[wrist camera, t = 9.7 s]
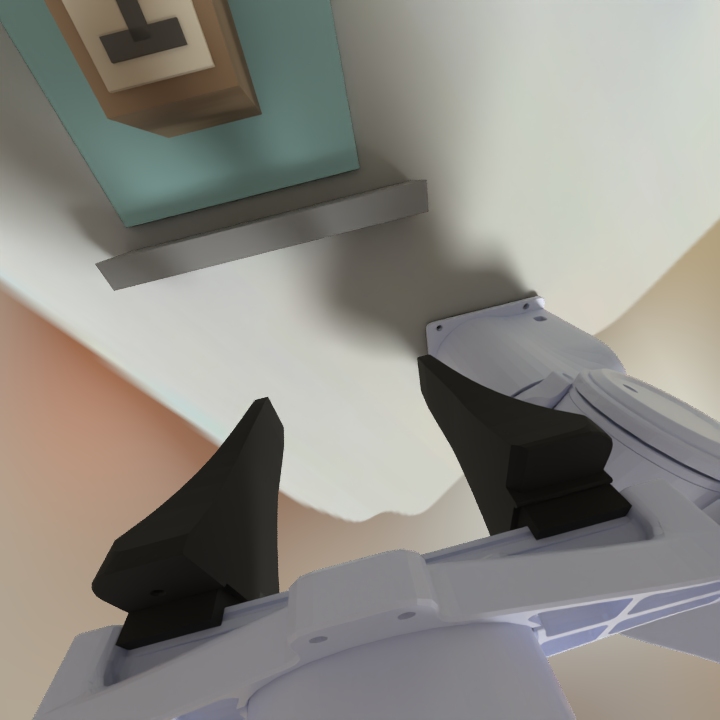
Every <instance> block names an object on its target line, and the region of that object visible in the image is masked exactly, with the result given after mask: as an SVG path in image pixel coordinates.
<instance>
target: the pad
mask: <svg viewBox="0 0 720 720" xmlns="http://www.w3.org/2000/svg"><path fill="white" fill-rule="evenodd" d="M228 4H229V7H230V10H231V13H232V17H233V20H234V23H235V27H236V30H237V33H238V36H239V40H240V43H241V46H242V50H243V53H244V56H245V59H246V63H247V66H248V69H249V73H250V76H251V79H252V82H253V86H254V89H255V92H256V96H257V99H258V102H259V105H260V109H261V112H262V114H261V115H257V116H253V117H249V118H245V119H242V120H238V121H234V122H230V123H226V124H222V125H218V126H214V127H210V128H206V129H202V130H198V131H194V132H190V133H187V134H183V135H179V136H175V137H171V138H167V137H164V136H161V135H158V134H154V133H151V132H148V131H145V130H142V129H138V128H135V127H132V126H129V125H126V124H122V123H119V122H116V121H113V120H110V119H107V117H106V115H105V113H104V111H103V109H102V108H101V106H100V104H99V102H98V100H97V98H96V96H95V95H94V93H93V91H92V89H91V87H90V85H89V83H88V81H87V80H86V78H85V76H84V74H83V72H82V70H81V68H80V67H79V65H78V63H77V61H76V59H75V57H74V55H73V54H72V52H71V50H70V48H69V46H68V44H67V42H66V41H65V39H64V37H63V35H62V33H61V31H60V29H59V27H58V26H57V24H56V22H55V20H54V18H53V16H52V14H51V13H50V11H49V9H48V7H47V5H46V3H45V1H44V0H0V21H1V23H2V25H3V26H4V28H5V30H6V31H7V33H8V34H9V36H10V38H11V39H12V41H13V43H14V44H15V46H16V48H17V49H18V51H19V53H20V54H21V56H22V57H23V59H24V61H25V62H26V64H27V66H28V67H29V69H30V71H31V72H32V74H33V75H34V77H35V79H36V80H37V82H38V84H39V85H40V87H41V89H42V90H43V92H44V94H45V95H46V97H47V98H48V100H49V102H50V103H51V105H52V107H53V108H54V110H55V112H56V113H57V115H58V117H59V118H60V120H61V121H62V123H63V125H64V126H65V128H66V130H67V131H68V133H69V135H70V136H71V138H72V140H73V141H74V143H75V144H76V146H77V148H78V149H79V151H80V153H81V154H82V156H83V158H84V159H85V161H86V162H87V164H88V166H89V167H90V169H91V171H92V172H93V174H94V176H95V177H96V179H97V181H98V182H99V184H100V185H101V187H102V189H103V190H104V192H105V194H106V195H107V197H108V199H109V200H110V202H111V204H112V205H113V207H114V208H115V210H116V212H117V213H118V215H119V217H120V218H121V220H122V222H123V223H124V225H125V227H126V228H127V227H131V226H135V225H139V224H143V223H147V222H151V221H155V220H159V219H163V218H167V217H171V216H175V215H179V214H182V213H186V212H190V211H194V210H198V209H202V208H206V207H210V206H214V205H218V204H222V203H226V202H230V201H234V200H238V199H241V198H245V197H249V196H253V195H257V194H261V193H265V192H269V191H273V190H277V189H281V188H285V187H289V186H293V185H296V184H300V183H304V182H308V181H312V180H316V179H320V178H324V177H328V176H332V175H336V174H340V173H344V172H348V171H352V170H355V169H359V162H358V156H357V151H356V145H355V139H354V134H353V128H352V122H351V117H350V111H349V105H348V100H347V94H346V88H345V83H344V77H343V71H342V66H341V60H340V54H339V49H338V43H337V37H336V32H335V26H334V20H333V15H332V9H331V3H330V0H228Z"/></svg>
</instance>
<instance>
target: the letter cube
mask: <svg viewBox="0 0 720 720" xmlns="http://www.w3.org/2000/svg"><path fill="white" fill-rule="evenodd" d="M44 1H45V3H46V5H47V7H48V9H49V11H50V13H51V14H52V16H53V18H54V20H55V22H56V24H57V26H58V27H59V29H60V31H61V33H62V35H63V37H64V39H65V41H66V42H67V44H68V46H69V48H70V50H71V52H72V54H73V55H74V57H75V59H76V61H77V63H78V65H79V67H80V68H81V70H82V72H83V74H84V76H85V78H86V80H87V81H88V83H89V85H90V87H91V89H92V91H93V93H94V95H95V96H96V98H97V100H98V102H99V104H100V106H101V108H102V109H103V111H104V113H105V115H106V117H107V119H110V120H113V121H116V122H119V123H122V124H126V125H129V126H132V127H135V128H138V129H142V130H145V131H148V132H151V133H154V134H158V135H161V136H164V137H167V138H171V137H175V136H179V135H183V134H187V133H190V132H194V131H198V130H202V129H206V128H210V127H214V126H218V125H222V124H226V123H230V122H234V121H238V120H242V119H245V118H249V117H253V116H257V115H261V114H262V112H261V109H260V105H259V102H258V99H257V96H256V92H255V89H254V86H253V82H252V79H251V76H250V73H249V69H248V66H247V63H246V59H245V56H244V53H243V50H242V46H241V43H240V40H239V36H238V33H237V30H236V27H235V23H234V20H233V17H232V13H231V10H230V7H229V4H228V0H44Z"/></svg>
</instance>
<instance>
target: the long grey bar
mask: <svg viewBox="0 0 720 720" xmlns="http://www.w3.org/2000/svg"><path fill="white" fill-rule="evenodd" d="M424 212H428V197H427V183H426V180H414V181H407V182H403V183H400V184H396V185H392V186H388V187H384V188H380V189H376V190H372V191H368V192H364V193H360V194H356V195H352V196H348V197H344V198H340V199H336V200H332V201H329V202H325V203H321V204H317V205H313V206H309V207H305V208H301V209H297V210H293V211H289V212H285V213H281V214H277V215H273V216H269V217H265V218H261V219H257V220H254V221H250V222H246V223H242V224H238V225H234V226H230V227H226V228H222V229H218V230H214V231H210V232H206V233H202V234H198V235H194V236H190V237H186V238H183V239H179V240H175V241H171V242H167V243H163V244H159V245H155V246H151V247H147V248H143V249H139V250H135V251H131V252H127V253H125V254H122V255H119V256H116V257H113V258H110V259H107V260H104V261H102V262H99V263H96V264H95V265H96V266H97V267H98V269H99V270H100V272H101V273H102V274H103V276H104V277H105V279H106V280H107V281H108V283H109V284H110V286H111V287H112V289H113V290H114V291H115V290H119V289H123V288H127V287H131V286H135V285H139V284H143V283H147V282H151V281H155V280H159V279H163V278H167V277H171V276H175V275H179V274H183V273H187V272H191V271H194V270H198V269H202V268H206V267H210V266H214V265H218V264H222V263H226V262H230V261H234V260H238V259H242V258H246V257H250V256H254V255H258V254H262V253H266V252H270V251H274V250H278V249H282V248H286V247H290V246H294V245H298V244H302V243H306V242H309V241H313V240H317V239H321V238H325V237H329V236H333V235H337V234H341V233H345V232H349V231H353V230H357V229H361V228H365V227H369V226H373V225H377V224H381V223H385V222H389V221H393V220H397V219H401V218H405V217H409V216H413V215H417V214H420V213H424Z"/></svg>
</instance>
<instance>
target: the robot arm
mask: <svg viewBox="0 0 720 720" xmlns="http://www.w3.org/2000/svg"><path fill="white" fill-rule="evenodd" d="M544 302H545V300H544V298H542V297H540V296H535V297H531V298H527V299H523V300H519V301H515V302H511V303H507V304H503V305H499V306H495V307H491V308H487V309H483V310H479V311H475V312H471V313H467V314H463V315H458V316H454V317H450V318H446V319H442V320H438V321H434V322H431V323H429V324H428V325H427V326H426V336H427V346H428V355H425V356H422V357H418V358H417V360H418V368H419V377H420V385H421V392H422V394H423V396H424V399H425V401H426V403H427V406H428V408H429V410H430V412H431V413H432V415H433V417H434V418H435V420H436V422H437V423H438V425H439V427H440V429H441V430H442V432H443V434H444V435H445V437H446V439H447V440H448V442H449V444H450V445H451V447H452V449H453V451H454V453H455V455H456V457H457V459H458V461H459V463H460V466H461V468H462V470H463V472H464V474H465V477H466V479H467V481H468V483H469V486H470V488H471V490H472V492H473V495H474V497H475V499H476V502H477V504H478V507H479V509H480V511H481V514H482V516H483V519H484V521H485V523H486V526H487V528H488V531H489V533H490V536H489V537H486V538H482V539H478V540H474V541H471V542H467V543H463V544H460V545H456V546H452V547H449V548H445V549H441V550H438V551H434V552H430V553H426V554H423V555H420V554H419V553H417V552H416V551H412V550H406V549H399V550H392V551H386V552H382V553H379V554H375V555H372V556H367V557H364V558H360V559H356V560H353V561H349V562H345V563H341V564H338V565H334V566H331V567H327V568H323V569H319V570H316V571H312V572H310V573H308V574H305V575H303V576H301V577H299V578H298V579H297V580H296V581H295V582H294V583H293V584H292V585H291V586H290V588H289V591H285V592H281V593H279V579H278V552H277V551H278V550H277V508H278V491H279V483H280V475H281V467H282V459H283V450H284V427H283V425H282V423H281V421H280V419H279V417H278V415H277V413H276V411H275V409H274V408H273V406H272V404H271V402H270V400H269V398H268V397H265V398H261V399H257V400H255V401H254V402H253V404H252V405H251V406H250V408H249V409H248V410H247V412H246V413H245V415H244V416H243V418H242V419H241V420H240V422H239V423H238V424H237V426H236V427H235V429H234V430H233V431H232V433H231V434H230V435H229V437H228V438H227V439H226V440H225V442H224V443H223V444H222V445H221V447H220V448H219V449H218V450H217V452H216V453H215V454H214V455H213V456H212V457H211V459H210V460H209V461H208V462H207V463H206V464H205V465H204V466H203V467H202V468H201V469H200V470H199V471H198V472H197V473H196V474H195V475H194V476H193V477H192V478H191V479H190V480H189V481H188V482H187V483H186V484H185V485H184V486H183V487H182V488H181V489H180V490H179V491H177V492H176V493H175V494H174V495H173V496H172V497H171V498H169V499H168V500H167V501H166V502H165V503H164V504H163V505H161V506H160V507H159V508H158V509H156V510H155V511H154V512H153V513H151V514H150V515H149V516H148V517H146V518H145V519H144V520H142V521H141V522H140V523H138V524H137V525H136V526H134V527H133V528H131V529H130V530H129V531H128V532H126V533H125V534H123V535H122V536H121V537H119V538H118V539H116V540H115V541H114V543H113V545H112V547H111V549H110V551H109V552H108V554H107V556H106V558H105V560H104V562H103V564H102V565H101V567H100V569H99V571H98V573H97V575H96V577H95V578H94V580H93V582H92V590H93V592H94V593H95V595H96V596H97V597H98V598H100V599H102V600H103V601H105V602H107V603H109V604H111V605H113V606H115V607H118V608H120V609H122V610H124V611H126V612H128V616H127V618H126V621H125V623H124V625H112V626H107V627H104V628H99V629H96V630H92V631H88V632H85V633H81V634H79V635H77V636H76V637H75V638H74V640H73V642H72V644H71V646H70V648H69V650H68V652H67V654H66V656H65V658H64V660H63V661H62V663H61V666H60V667H59V669H58V671H57V673H56V675H55V677H54V679H53V681H52V683H51V685H50V687H49V689H48V690H47V692H46V694H45V696H44V698H43V700H42V702H41V704H40V706H39V708H38V710H37V712H36V714H35V716H34V718H33V720H577V719H576V717H575V715H574V712H573V710H572V709H571V707H570V704H569V702H568V700H567V699H566V697H565V694H564V692H563V690H562V688H561V686H560V684H559V682H558V680H557V678H556V676H555V674H554V672H553V670H552V668H551V666H550V664H549V662H548V660H547V657H550V656H553V655H556V654H559V653H562V652H564V651H568V650H571V649H573V648H576V647H579V646H582V645H585V644H588V643H591V642H594V641H597V640H600V639H603V638H606V637H608V636H611V635H614V634H617V633H618V634H621V635H623V636H626V637H630V638H633V639H637V640H640V641H643V642H646V643H650V644H654V645H657V646H661V647H665V648H668V649H672V650H676V651H680V652H683V653H687V654H691V655H694V656H698V657H701V658H704V659H707V660H711V661H714V662H717V663H719V664H720V423H719V422H718V421H716V420H715V419H713V418H711V417H710V416H708V415H706V414H705V413H703V412H701V411H699V410H698V409H696V408H694V407H693V406H691V405H689V404H687V403H685V402H683V401H681V400H680V399H678V398H676V397H674V396H672V395H670V394H668V393H666V392H664V391H662V390H660V389H658V388H656V387H654V386H652V385H650V384H647V383H645V382H643V381H641V380H638V379H636V378H634V377H631V376H629V375H627V374H626V371H625V369H624V367H623V365H622V363H621V361H620V360H619V359H618V357H617V356H616V354H615V353H614V352H613V351H612V350H611V349H610V348H609V347H608V346H607V345H606V344H605V343H603V342H602V341H600V340H599V339H597V338H595V337H593V336H592V335H590V334H588V333H586V332H584V331H583V330H581V329H579V328H577V327H575V326H573V325H572V324H570V323H568V322H566V321H564V320H563V319H561V318H559V317H557V316H555V315H554V314H552V313H550V312H548V311H546V310H544ZM525 304H526V306H525V307H524V308H523V306H524V305H525ZM439 325H441V327H440V328H439V329H436V328H437V326H439Z"/></svg>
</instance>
